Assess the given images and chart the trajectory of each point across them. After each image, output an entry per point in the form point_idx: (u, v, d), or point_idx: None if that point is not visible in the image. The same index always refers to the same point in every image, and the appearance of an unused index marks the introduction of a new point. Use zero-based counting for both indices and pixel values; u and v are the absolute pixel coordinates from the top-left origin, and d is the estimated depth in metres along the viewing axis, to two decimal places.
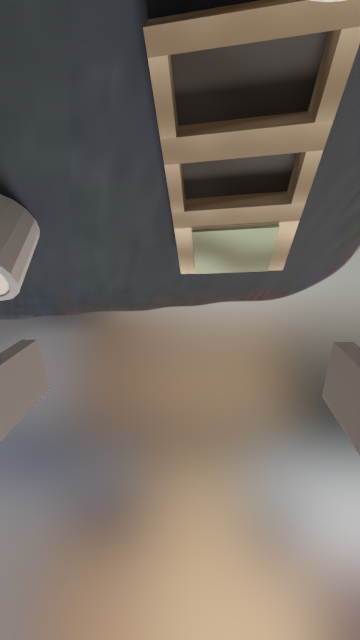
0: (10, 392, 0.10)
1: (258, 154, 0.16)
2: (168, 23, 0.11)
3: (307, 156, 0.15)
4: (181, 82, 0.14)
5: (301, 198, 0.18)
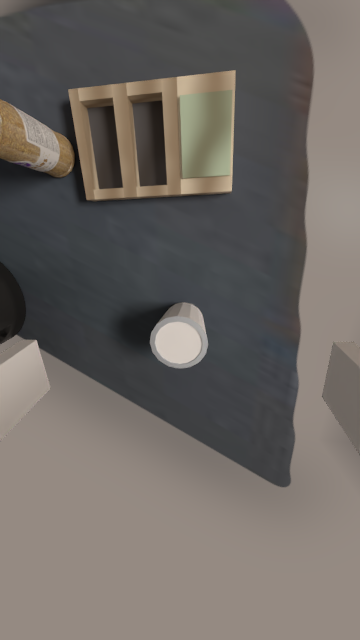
0: (10, 392, 0.10)
1: (129, 131, 0.25)
2: None
3: (129, 93, 0.24)
4: (110, 186, 0.29)
5: (157, 84, 0.24)
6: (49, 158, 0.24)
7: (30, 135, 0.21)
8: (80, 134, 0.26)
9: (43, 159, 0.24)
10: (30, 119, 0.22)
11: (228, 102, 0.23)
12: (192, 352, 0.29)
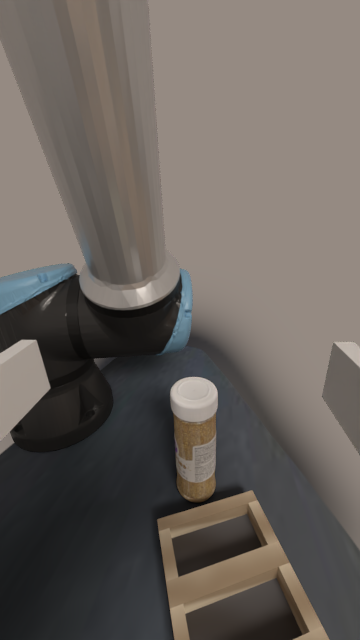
0: (10, 392, 0.10)
1: (245, 577, 0.19)
2: None
3: (282, 570, 0.20)
4: (178, 555, 0.22)
5: (313, 619, 0.17)
6: (187, 470, 0.25)
7: (198, 450, 0.23)
8: (220, 506, 0.24)
9: (184, 464, 0.25)
10: (211, 451, 0.24)
11: None
12: None
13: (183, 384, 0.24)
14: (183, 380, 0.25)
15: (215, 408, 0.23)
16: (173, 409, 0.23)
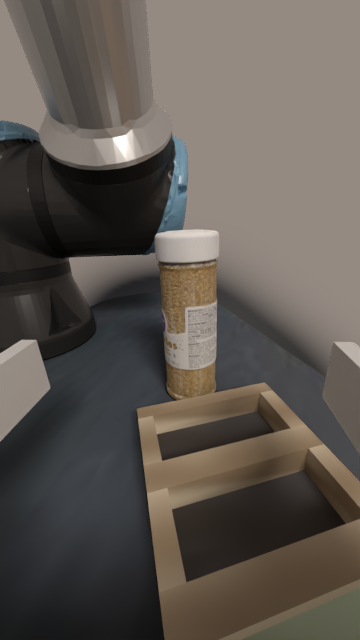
0: (10, 392, 0.10)
1: (260, 459, 0.13)
2: (153, 405, 0.17)
3: (314, 452, 0.13)
4: (165, 450, 0.16)
5: None
6: (179, 351, 0.18)
7: (192, 314, 0.17)
8: (222, 396, 0.18)
9: (174, 342, 0.18)
10: (211, 324, 0.18)
11: None
12: None
13: (173, 231, 0.18)
14: (173, 231, 0.19)
15: (216, 251, 0.17)
16: (158, 253, 0.17)
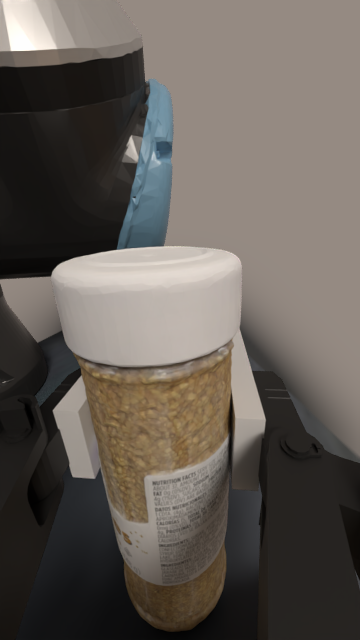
0: None
1: None
2: None
3: None
4: None
5: None
6: (137, 552, 0.07)
7: (166, 489, 0.06)
8: None
9: (125, 532, 0.07)
10: (218, 488, 0.07)
11: None
12: None
13: (117, 252, 0.07)
14: None
15: (234, 317, 0.05)
16: (61, 324, 0.06)
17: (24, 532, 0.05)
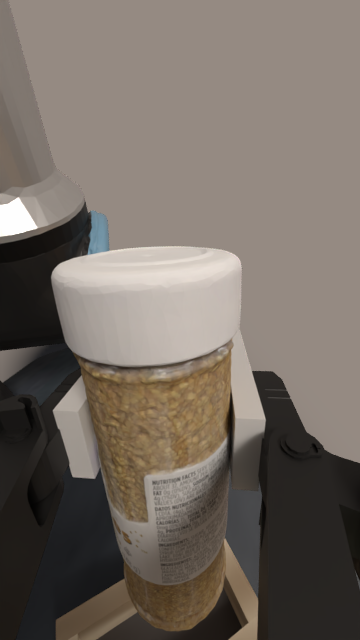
0: None
1: None
2: (79, 606, 0.13)
3: None
4: None
5: None
6: (137, 552, 0.07)
7: (165, 488, 0.06)
8: None
9: (125, 531, 0.07)
10: (217, 488, 0.07)
11: None
12: None
13: (117, 252, 0.07)
14: None
15: (234, 317, 0.05)
16: (61, 324, 0.06)
17: (24, 532, 0.05)
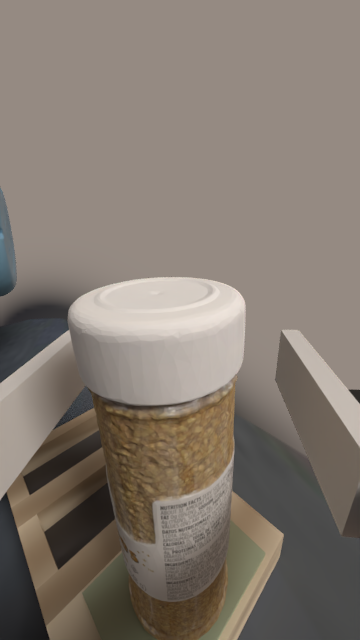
0: (65, 376, 0.11)
1: None
2: None
3: None
4: (35, 485, 0.18)
5: None
6: (144, 570, 0.08)
7: (173, 513, 0.06)
8: (83, 417, 0.21)
9: (132, 551, 0.08)
10: (221, 509, 0.07)
11: (248, 563, 0.12)
12: None
13: (127, 285, 0.07)
14: (132, 281, 0.08)
15: (238, 355, 0.06)
16: (76, 359, 0.06)
17: None
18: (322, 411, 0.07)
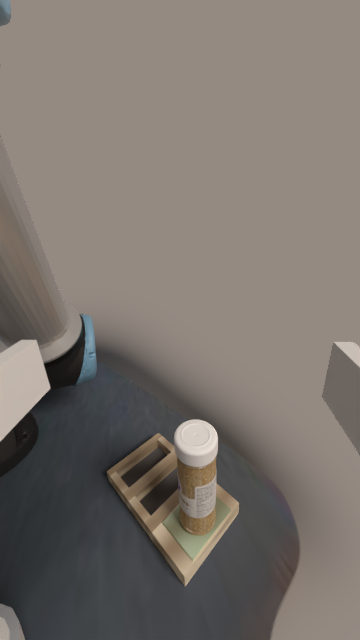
0: (10, 392, 0.10)
1: (163, 469, 0.36)
2: (113, 466, 0.37)
3: None
4: (125, 483, 0.36)
5: None
6: (190, 508, 0.27)
7: (199, 490, 0.25)
8: (142, 447, 0.40)
9: (187, 502, 0.26)
10: (212, 490, 0.26)
11: (224, 512, 0.30)
12: None
13: (186, 428, 0.26)
14: (186, 423, 0.27)
15: (215, 453, 0.25)
16: (177, 453, 0.25)
17: None
18: None
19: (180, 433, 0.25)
